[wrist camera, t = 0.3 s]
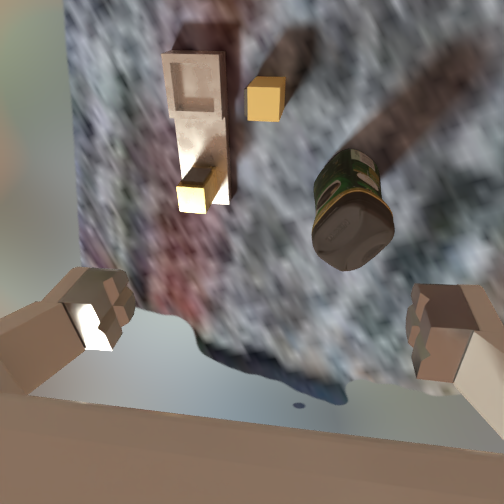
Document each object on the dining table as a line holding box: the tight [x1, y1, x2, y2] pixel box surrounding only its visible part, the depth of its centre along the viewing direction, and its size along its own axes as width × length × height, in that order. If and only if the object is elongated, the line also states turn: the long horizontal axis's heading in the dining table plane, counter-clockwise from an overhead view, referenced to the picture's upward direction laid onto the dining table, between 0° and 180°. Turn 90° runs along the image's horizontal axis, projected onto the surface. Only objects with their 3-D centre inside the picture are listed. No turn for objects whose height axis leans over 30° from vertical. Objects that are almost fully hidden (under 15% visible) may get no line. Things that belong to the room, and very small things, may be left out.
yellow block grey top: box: [244, 76, 286, 122], centre depth 48 cm, size 4×4×7 cm
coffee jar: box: [312, 149, 395, 271], centre depth 48 cm, size 10×8×19 cm
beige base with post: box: [161, 50, 232, 214], centre depth 52 cm, size 22×8×9 cm, turn 0°
